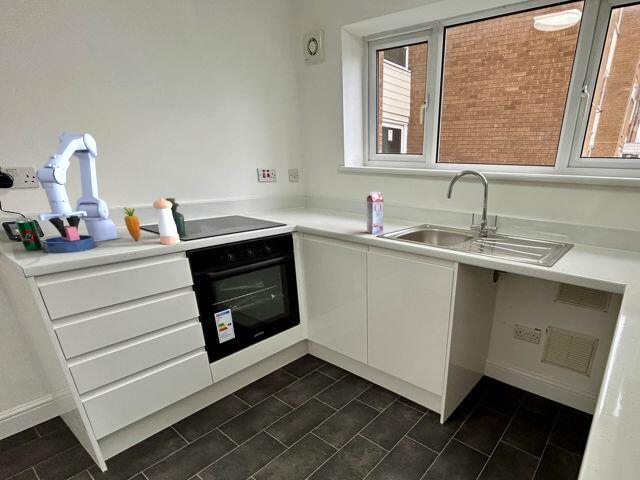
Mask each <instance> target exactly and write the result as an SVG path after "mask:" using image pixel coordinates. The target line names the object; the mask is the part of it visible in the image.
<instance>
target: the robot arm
mask: <svg viewBox="0 0 640 480" xmlns="http://www.w3.org/2000/svg"><path fill="white" fill-rule="evenodd" d="M58 141H59V147H58V149H57V152H56V153H54V154H53V153H52V154H50V155H49V158H48V159H47V161H46V163H45V164H44V165H43V167H39V168H38V169H36V171H35V178H36V180H37V181H38V182H39V184H40V186H41V188H42V189H44V192H45V195H46V198H47V201H48V205H49V207H50V210H51V212H49V213H42V214H41V213H40V214H37V215H36V216H37V219H38V221H47V220H48V222H49V223H50V224H51V225H52V226H53V227H54V228H55V229H56V230H57V231H58V233H59V234H60V236H62V237H67V235H66V232H65V229H64V226H65V223H64V219H65V220H66V221H67V223H68V226H73V227H76V228H77V232H78V230H79V225H80V222H81V221H84V224H85V228H86V232H87V235H89V236H93V238H94V241H95V243H97V242H104V241H109V240H110V241H111V240H115V239H116V240H117V239H119V236H118V233H117V231H116V230H117V229H116V226H115V223H114V222H113V220H112V219H111V218H109V215H110V212H109V209H108V205H107V202H106V201H105V200H103V199H101V198H100V197H99V190H98V179H97V170H96V169H97V168H96V157H97V156H98V153H97V143H96V140H95V139H94V138H93V136H92V135H91V134H90V133H77V132H76V133H73V132H72V133H71V132H61V133H60V134H59V136H58ZM72 156H74V157H76V158H78V161H79V162H78V163H79V171H80V173H79V174H80V183H81V193H82V196H81V197H79V198H77V200H76V206H75V210H72V207H71V204H70V200H69V196H68V193H67V191H66V187H65V184H66V183H67V173H66V172H67V170H68V169H69V167H70V165H71V162H70V161H69V159H70V158H71V157H72ZM78 233H79V232H78Z"/></svg>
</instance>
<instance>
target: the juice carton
mask: <svg viewBox="0 0 640 480" xmlns="http://www.w3.org/2000/svg"><path fill="white" fill-rule="evenodd" d="M366 233H369V234H371V235H375V234H383V233H384V197H383V196H382V193H381V191H369V195H368V196H367V197H366Z"/></svg>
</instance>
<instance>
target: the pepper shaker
mask: <svg viewBox="0 0 640 480" xmlns="http://www.w3.org/2000/svg"><path fill="white" fill-rule="evenodd" d="M152 207H153V208H154V209H155V211H156V215H157V228H158V231H159V236H158V237H159V241H160V244H161V245H173V244H174V245H175V244H180V242H181V240H180V238H179V235H178V234H177V229H176V225H175V222H174V220H173V217H172V212H171V208H172V203H171V202H169V201H166V199H165V200H164V198H163V197H162V198H161V197H160V198H159V199H158V200H154V202H152Z"/></svg>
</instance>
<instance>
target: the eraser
mask: <svg viewBox="0 0 640 480" xmlns="http://www.w3.org/2000/svg"><path fill="white" fill-rule="evenodd" d="M64 229H65V232H66V235H67V237H62V239H65V240H70V241H73V240H80V238H79V235H80V234H79V232H77V228H76V227H73V226H70V225H64Z"/></svg>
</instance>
